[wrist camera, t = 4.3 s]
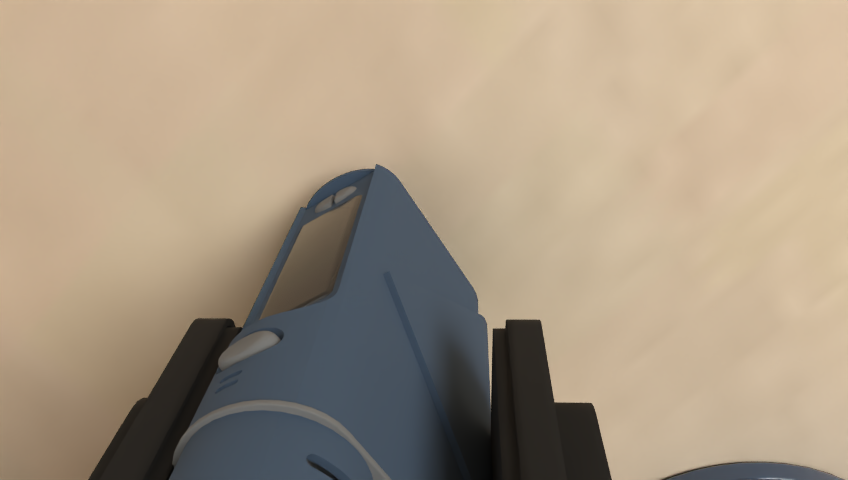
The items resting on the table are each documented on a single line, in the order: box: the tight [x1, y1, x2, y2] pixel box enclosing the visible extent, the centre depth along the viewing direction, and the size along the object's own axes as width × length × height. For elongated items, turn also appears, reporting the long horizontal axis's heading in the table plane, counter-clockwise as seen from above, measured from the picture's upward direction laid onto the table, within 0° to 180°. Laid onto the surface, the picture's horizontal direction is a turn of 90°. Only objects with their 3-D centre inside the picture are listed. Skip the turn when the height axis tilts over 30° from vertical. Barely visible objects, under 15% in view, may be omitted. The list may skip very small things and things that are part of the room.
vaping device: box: [169, 164, 493, 480], centre depth 10 cm, size 3×5×12 cm, turn 32°
